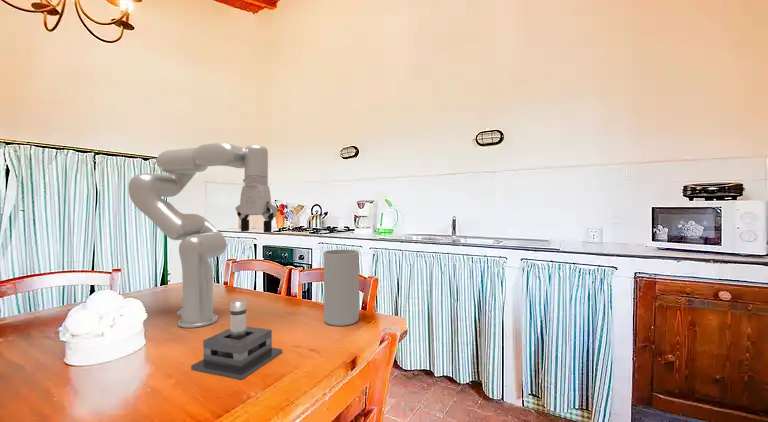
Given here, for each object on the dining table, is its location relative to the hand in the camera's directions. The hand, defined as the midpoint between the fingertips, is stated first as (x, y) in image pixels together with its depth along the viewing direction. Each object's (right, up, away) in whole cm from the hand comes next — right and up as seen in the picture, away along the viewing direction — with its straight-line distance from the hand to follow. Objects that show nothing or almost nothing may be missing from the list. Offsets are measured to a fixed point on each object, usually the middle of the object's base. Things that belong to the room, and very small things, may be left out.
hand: (256, 231), depth 119 cm
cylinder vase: (+29, -33, +6) cm, 44 cm away
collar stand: (+5, -33, -26) cm, 42 cm away
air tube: (+5, -32, -26) cm, 42 cm away
